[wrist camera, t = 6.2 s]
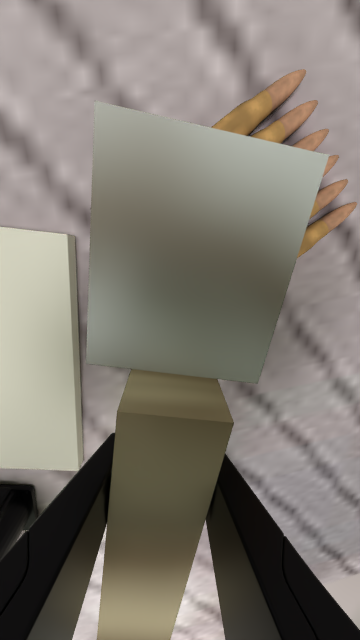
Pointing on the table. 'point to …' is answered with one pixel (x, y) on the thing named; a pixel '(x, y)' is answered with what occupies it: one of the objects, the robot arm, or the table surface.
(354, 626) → the robot arm
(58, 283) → the board
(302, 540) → the table surface
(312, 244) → the ammunition clip
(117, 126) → the turner
